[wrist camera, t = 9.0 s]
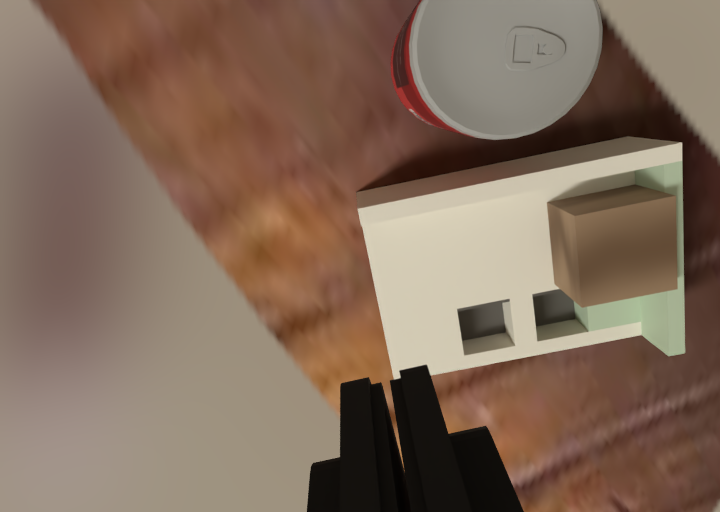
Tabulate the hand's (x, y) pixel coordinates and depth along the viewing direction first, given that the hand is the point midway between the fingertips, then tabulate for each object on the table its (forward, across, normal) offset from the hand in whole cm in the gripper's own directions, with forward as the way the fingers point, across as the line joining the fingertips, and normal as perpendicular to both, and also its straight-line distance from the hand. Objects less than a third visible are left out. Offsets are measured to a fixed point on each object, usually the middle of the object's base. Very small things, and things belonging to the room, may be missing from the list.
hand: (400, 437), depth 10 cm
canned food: (+25, -8, -6) cm, 27 cm away
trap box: (+24, -9, +7) cm, 27 cm away
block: (+22, -14, +6) cm, 27 cm away
